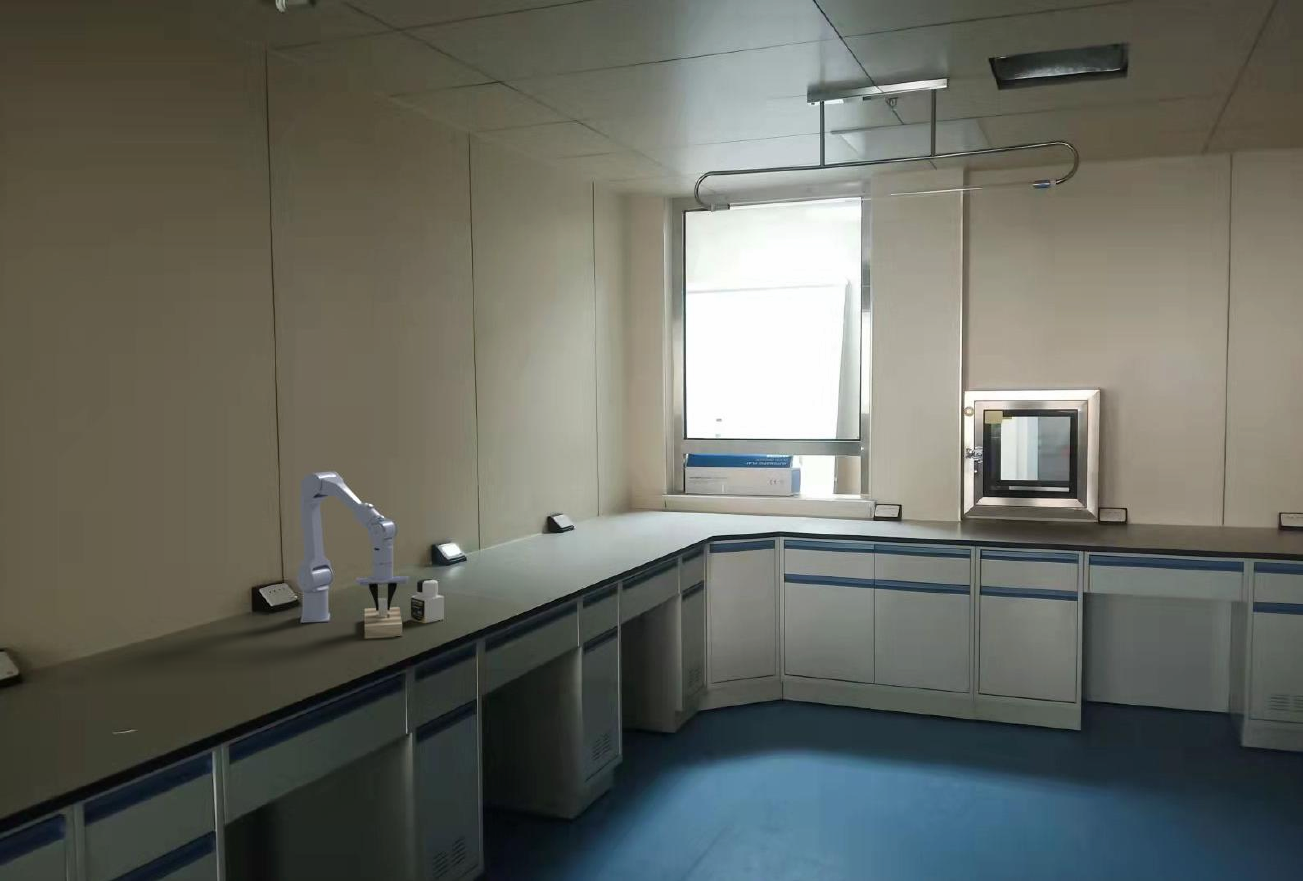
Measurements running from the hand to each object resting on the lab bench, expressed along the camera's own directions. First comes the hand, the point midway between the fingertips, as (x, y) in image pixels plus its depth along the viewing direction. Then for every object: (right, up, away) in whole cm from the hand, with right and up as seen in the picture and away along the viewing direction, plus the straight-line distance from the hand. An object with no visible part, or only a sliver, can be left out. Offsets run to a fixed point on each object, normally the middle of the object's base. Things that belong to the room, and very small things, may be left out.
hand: (382, 609), depth 288 cm
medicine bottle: (+10, -5, +12) cm, 16 cm away
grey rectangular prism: (0, -4, 0) cm, 4 cm away
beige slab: (0, -5, 0) cm, 5 cm away
